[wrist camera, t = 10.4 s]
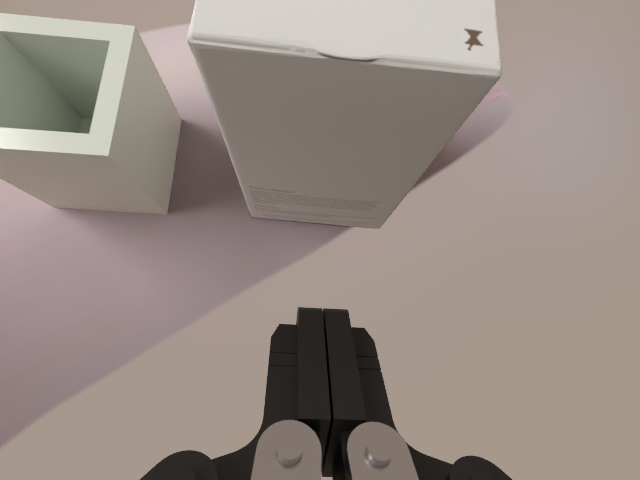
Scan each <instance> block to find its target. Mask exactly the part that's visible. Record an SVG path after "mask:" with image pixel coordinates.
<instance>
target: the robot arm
mask: <svg viewBox="0 0 640 480" xmlns="http://www.w3.org/2000/svg"><path fill="white" fill-rule="evenodd" d="M380 369H381V368H380V364H379V360H378V357H377V351H376V347H375V343H374V340H373V339H372V338H371V336H370V335H369V334H368V332H367V331H366V330H365V328H353V327H351V325H350V318H349V313H348V310H343V309H323V311H322V309H321V308H320V309H319V308H301V307H298V312H297V322H296V325H289V324H288V325H287V324H279V326H278V327H277V329H276V330H275V332H274V334H273V335H272V337H271V345H270V355H269V366H268V376H267V386H266V397H265V407H264V418H263V423H262V425H261V428H260V430H259V432H258V434H257V435H256V436H255V438H254V439H253V440H252V441H251V442H250V443H249V444H248V445H246V446H245V447H243V448H242V449H240V450H238V451H236V452H233V453H230V454H227V455H224V456H221V457H218V458H215V459H212V460H211V459H210V458H209V457H208V456H206V455H205V454H203V453H201V452H197V451H191V450H188V451H181V452H177V453H174V454H172V455H170V456H168V457H166V458H165V459H163V460H162V461H161V462H159V463H158V464H157V465H156V466H155V467H153V468H152V469H151V470H150V471H149V472H148V473H147V474H146V475H145V476H143V478H141V479H140V480H321V472H322V476H323V477H333V480H512V479H511V478H510V477H509V476H507V475H506V474H505V473H504V472H503V471H502V470H501V469H499V468H498V467H497V466H495V465H494V464H493V463H491V462H489V461H488V460H485V459H483V458H480V457H476V456H465V457H461V458H460V459H458V460H457V461H456V462H455V463H454V464H453V465H452V464H450V463H447V462H444V461H441V460H438V459H435V458H433V457H430V456H427V455H425V454H422V453H420V452H418V451H417V450H415V449H413V448H412V447H411V446H409V445H408V444H407V443H406V442H405V441H404V439H403V438H402V437H401V435H400V434H399V433H398V431H397V430H396V428H395V425H394V422H393V419H392V415H391V410H390V407H389V402H388V398H387V393H386V390H385V385H384V381H383V377H382V373H381V370H380Z"/></svg>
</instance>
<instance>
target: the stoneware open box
mask: <svg viewBox="0 0 640 480" xmlns="http://www.w3.org/2000/svg"><path fill="white" fill-rule="evenodd" d="M181 121H182V119H181V117H180V115H179V113H178V111H177V109H176V107H175V105H174V103H173V101H172V99H171V97H170V95H169V93H168V91H167V89H166V87H165V85H164V83H163V81H162V79H161V77H160V75H159V73H158V71H157V69H156V67H155V65H154V63H153V61H152V59H151V57H150V55H149V53H148V51H147V49H146V47H145V45H144V43H143V41H142V39H141V37H140V35H139V33H138V31H137V29H136V27H135V26H131V25H120V24H109V23H99V22H88V21H77V20H66V19H57V18H45V17H35V16H24V15H14V14H3V13H0V179H2V180H4V181H6V182H8V183H10V184H12V185H13V186H15V187H17V188H19V189H21V190H23V191H25V192H26V193H28V194H30V195H32V196H34V197H36V198H37V199H39V200H41V201H43V202H45V203H47V204H49V205H50V206H52V207H54V208H69V209H86V210H103V211H121V212H138V213H155V214H167V213H168V206H169V200H170V193H171V187H172V180H173V174H174V167H175V161H176V154H177V147H178V141H179V134H180V128H181Z"/></svg>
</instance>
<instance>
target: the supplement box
mask: <svg viewBox="0 0 640 480" xmlns="http://www.w3.org/2000/svg"><path fill="white" fill-rule="evenodd" d="M187 42H188V44H189V46H190V49H191V51H192V53H193V55H194V58H195V60H196V63H197V66H198V68H199V71H200V74H201V77H202V79H203V82H204V84H205V87H206V90H207V93H208V96H209V98H210V101H211V104H212V107H213V110H214V112H215V115H216V118H217V121H218V124H219V127H220V129H221V132H222V135H223V138H224V141H225V144H226V146H227V149H228V152H229V155H230V158H231V161H232V164H233V166H234V169H235V172H236V175H237V178H238V181H239V184H240V187H241V189H242V192H243V195H244V198H245V201H246V204H247V207H248V210H249V213H250V215H251V216H252V217H256V218H265V219H276V220H287V221H298V222H309V223H320V224H331V225H342V226H353V227H364V228H380V227H381V226H382V225H383V223H384V222H385V221H386V220H387V218H388V217H389V216H390V215H391V214H392V212H393V211H394V210H395V209H396V207H397V206H398V204H399V203H400V202H401V201H402V200H403V198H404V197H405V196H406V195H407V193H408V192H409V191H410V190H411V188H412V187H413V186H414V185H415V183H416V182H417V181H418V180H419V178H420V177H421V176H422V175H423V173H424V172H425V171H426V169H427V168H428V167H429V166H430V164H431V163H432V162H433V161H434V159H435V158H436V157H437V156H438V154H439V153H440V152H441V151H442V149H443V148H444V147H445V146H446V144H447V143H448V142H449V141H450V139H451V138H452V137H453V135H454V134H455V133H456V132H457V131H458V129H459V128H460V127H461V126H462V124H463V123H464V122H465V120H466V119H467V118H468V117H469V116H470V114H471V113H472V112H473V111H474V109H475V108H476V107H477V106H478V104H479V103H480V102H481V101H482V99H483V98H484V97H485V96H486V94H487V93H488V92H489V91H490V89H491V88H492V87H493V86H494V84H495V83H496V82H497V81H498V79H499V78H500V77H501V75H502V71H501V58H500V49H499V39H498V28H497V18H496V7H495V0H196V2H195V6H194V11H193V15H192V19H191V23H190V28H189V32H188V36H187Z"/></svg>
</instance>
